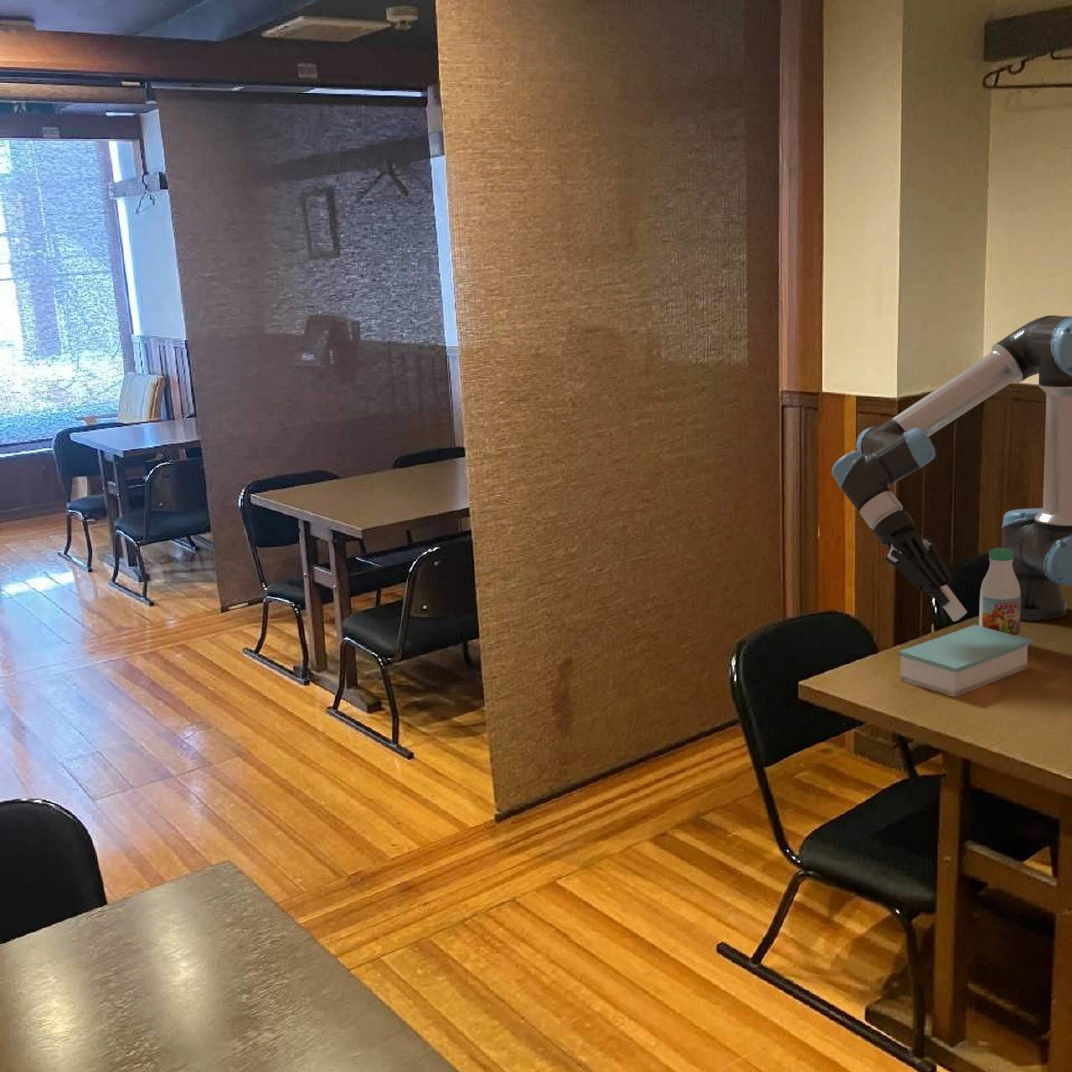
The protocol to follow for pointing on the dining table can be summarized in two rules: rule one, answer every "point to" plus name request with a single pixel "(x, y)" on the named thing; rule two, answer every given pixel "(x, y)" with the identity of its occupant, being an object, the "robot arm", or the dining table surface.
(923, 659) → the cover
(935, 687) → the white shallow box
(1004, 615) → the milk bottle
